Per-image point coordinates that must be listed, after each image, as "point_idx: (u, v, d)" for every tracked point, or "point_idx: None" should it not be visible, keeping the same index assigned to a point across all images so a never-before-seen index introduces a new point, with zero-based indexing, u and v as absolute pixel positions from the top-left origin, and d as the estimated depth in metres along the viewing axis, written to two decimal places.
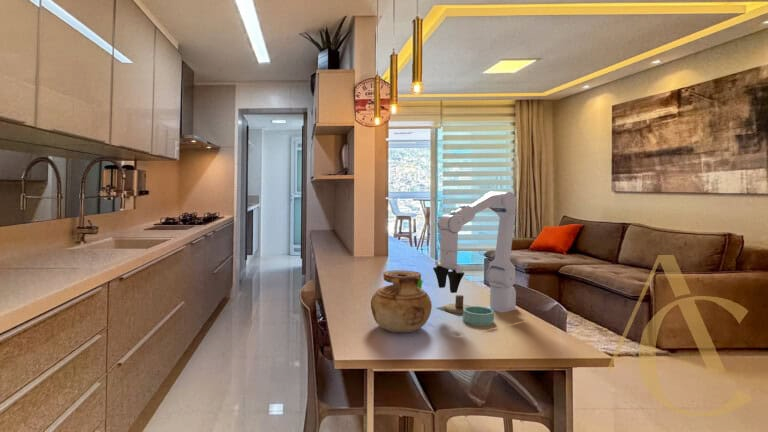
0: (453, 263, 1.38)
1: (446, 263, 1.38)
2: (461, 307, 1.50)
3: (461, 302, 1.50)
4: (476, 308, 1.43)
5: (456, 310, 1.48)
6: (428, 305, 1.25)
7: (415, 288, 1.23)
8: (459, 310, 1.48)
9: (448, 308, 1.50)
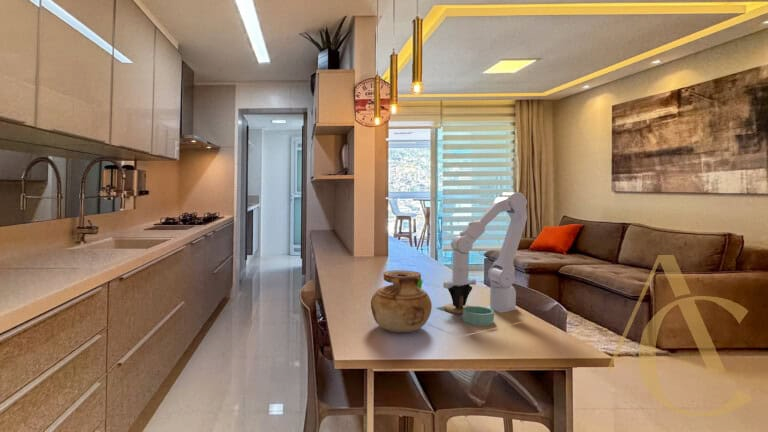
0: (454, 280, 1.49)
1: (452, 279, 1.51)
2: (461, 307, 1.50)
3: (461, 302, 1.50)
4: (476, 308, 1.43)
5: (456, 310, 1.48)
6: (428, 305, 1.25)
7: (415, 288, 1.23)
8: (459, 310, 1.48)
9: (448, 308, 1.50)
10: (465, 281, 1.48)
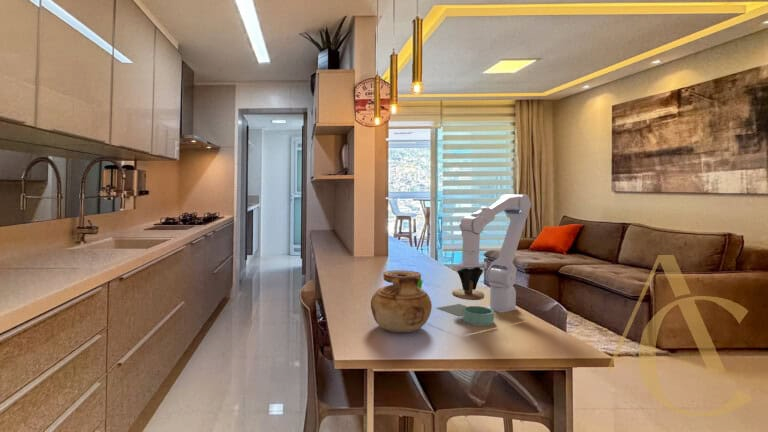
0: (464, 263, 1.42)
1: (461, 262, 1.44)
2: (470, 293, 1.43)
3: (470, 287, 1.43)
4: (476, 308, 1.43)
5: (465, 296, 1.41)
6: (428, 305, 1.25)
7: (415, 288, 1.23)
8: (468, 296, 1.41)
9: (456, 293, 1.43)
10: (475, 263, 1.41)
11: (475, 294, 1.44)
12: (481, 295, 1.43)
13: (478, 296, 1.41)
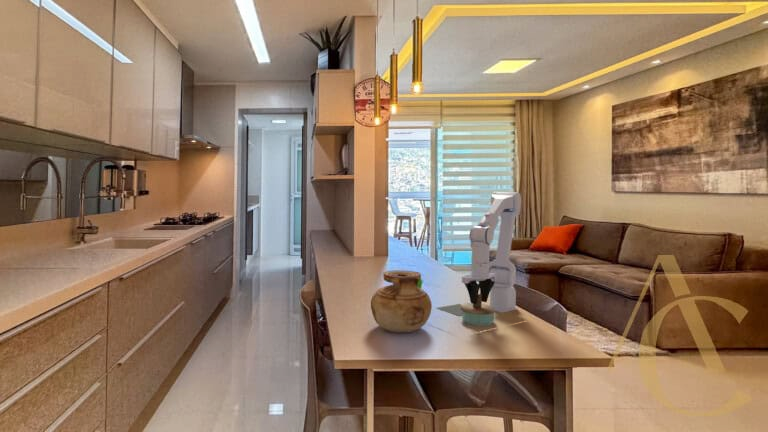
0: (474, 275, 1.36)
1: (471, 273, 1.38)
2: (479, 307, 1.38)
3: (479, 301, 1.37)
4: None
5: (474, 310, 1.35)
6: (428, 305, 1.25)
7: (415, 288, 1.23)
8: (477, 310, 1.35)
9: (465, 308, 1.37)
10: (485, 275, 1.35)
11: (484, 308, 1.38)
12: (491, 309, 1.37)
13: (488, 310, 1.35)
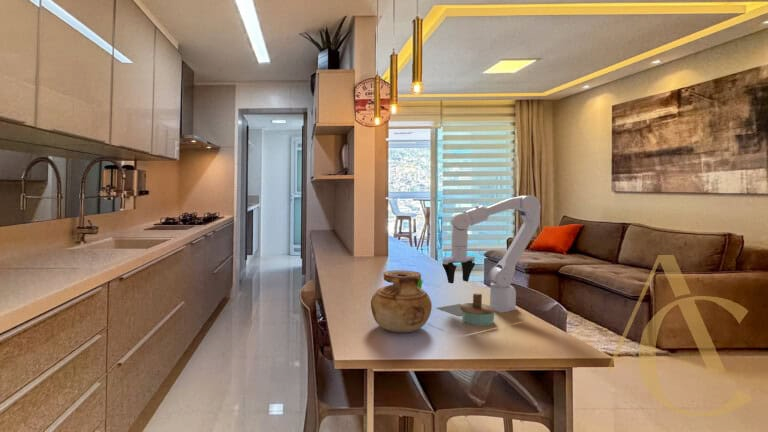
0: (453, 257, 1.52)
1: (451, 256, 1.55)
2: (479, 307, 1.38)
3: (479, 301, 1.37)
4: None
5: (474, 310, 1.35)
6: (428, 305, 1.25)
7: (415, 288, 1.23)
8: (477, 310, 1.35)
9: (465, 308, 1.37)
10: (464, 257, 1.52)
11: (484, 308, 1.38)
12: (491, 309, 1.37)
13: (488, 310, 1.35)
